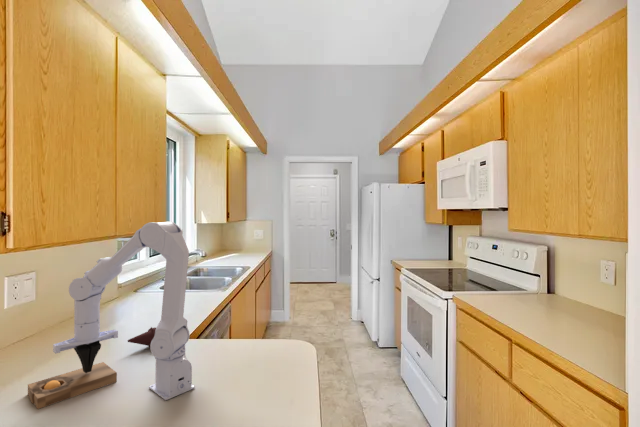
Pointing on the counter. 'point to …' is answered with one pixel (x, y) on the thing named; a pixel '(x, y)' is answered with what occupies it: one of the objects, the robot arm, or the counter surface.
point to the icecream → (144, 337)
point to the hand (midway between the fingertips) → (87, 371)
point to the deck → (71, 385)
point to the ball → (52, 385)
